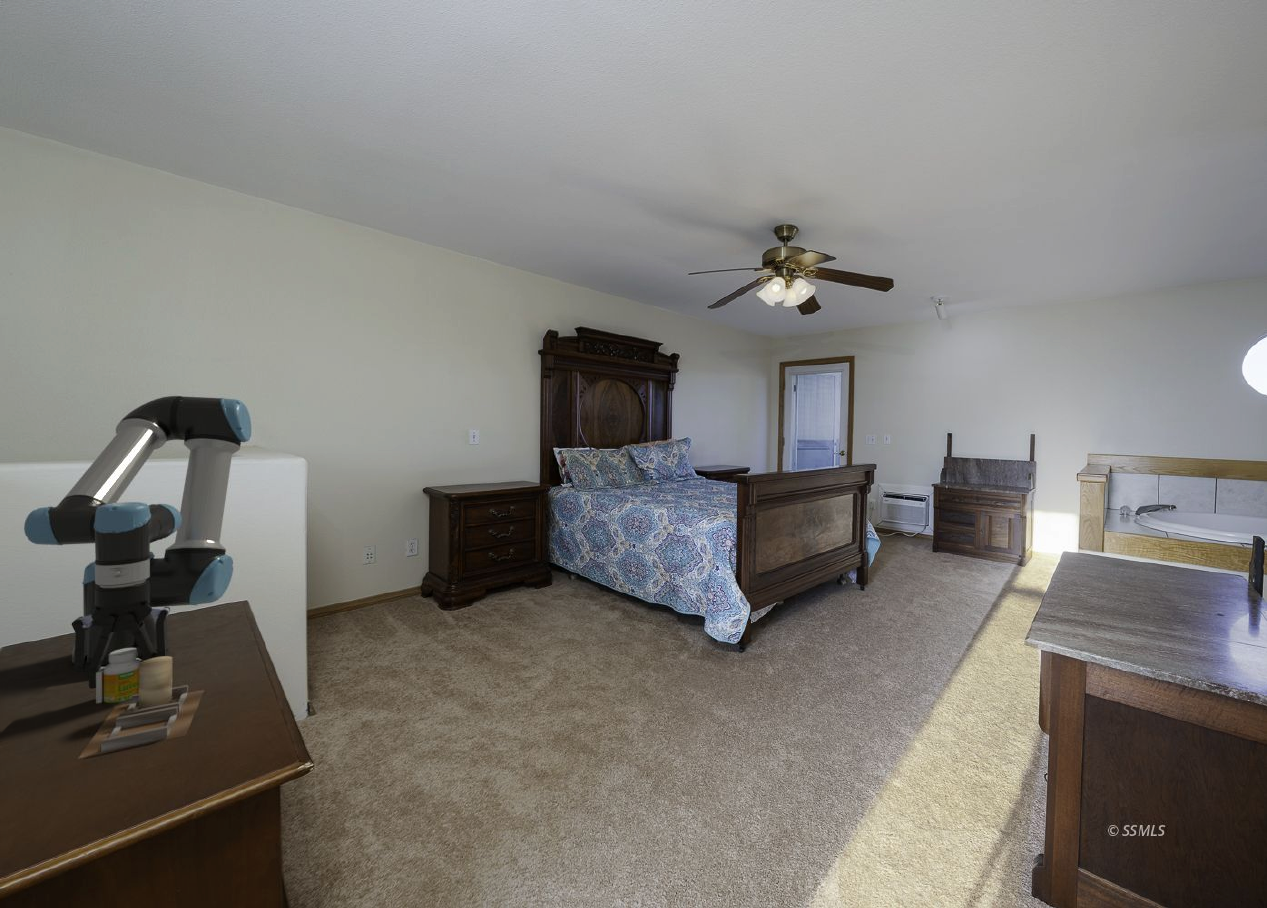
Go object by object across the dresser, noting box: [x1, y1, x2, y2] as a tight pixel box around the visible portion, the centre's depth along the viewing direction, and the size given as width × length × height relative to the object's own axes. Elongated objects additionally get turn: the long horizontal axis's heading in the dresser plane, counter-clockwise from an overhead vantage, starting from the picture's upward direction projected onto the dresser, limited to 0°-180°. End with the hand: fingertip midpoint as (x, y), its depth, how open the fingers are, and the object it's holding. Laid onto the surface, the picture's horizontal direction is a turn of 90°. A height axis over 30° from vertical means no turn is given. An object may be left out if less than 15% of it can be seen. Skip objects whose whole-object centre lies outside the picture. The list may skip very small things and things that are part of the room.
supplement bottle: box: [103, 648, 143, 704], centre depth 99 cm, size 5×5×10 cm
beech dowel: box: [139, 655, 173, 709], centre depth 95 cm, size 5×5×9 cm
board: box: [77, 684, 205, 760], centre depth 91 cm, size 18×13×3 cm
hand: (123, 698), depth 99 cm, fingers closed on supplement bottle, 5 cm apart
